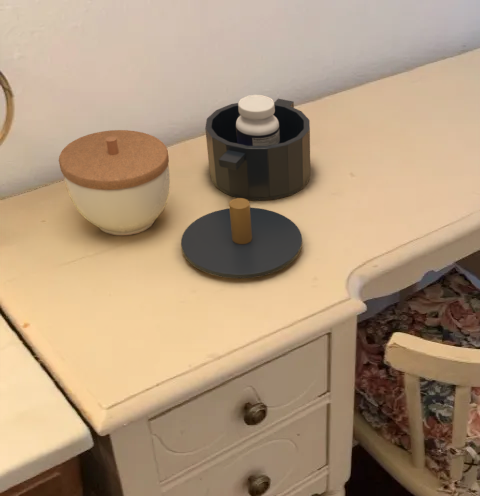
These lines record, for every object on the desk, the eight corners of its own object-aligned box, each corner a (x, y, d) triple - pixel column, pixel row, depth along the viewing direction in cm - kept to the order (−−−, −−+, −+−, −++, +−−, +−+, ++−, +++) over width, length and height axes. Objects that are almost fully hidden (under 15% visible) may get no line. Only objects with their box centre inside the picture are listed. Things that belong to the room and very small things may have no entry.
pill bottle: (234, 164, 116) (228, 95, 109) (273, 158, 118) (270, 90, 111) (246, 185, 112) (241, 114, 105) (286, 178, 114) (284, 108, 107)
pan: (184, 198, 110) (177, 145, 105) (244, 135, 123) (241, 86, 118) (279, 219, 108) (277, 166, 102) (330, 153, 121) (331, 103, 116)
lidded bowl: (185, 197, 110) (175, 117, 103) (165, 251, 101) (152, 168, 94) (90, 191, 110) (73, 111, 102) (60, 244, 101) (39, 161, 93)
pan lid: (160, 266, 99) (153, 221, 95) (215, 205, 109) (210, 162, 105) (274, 294, 96) (271, 249, 92) (319, 229, 106) (319, 186, 102)
